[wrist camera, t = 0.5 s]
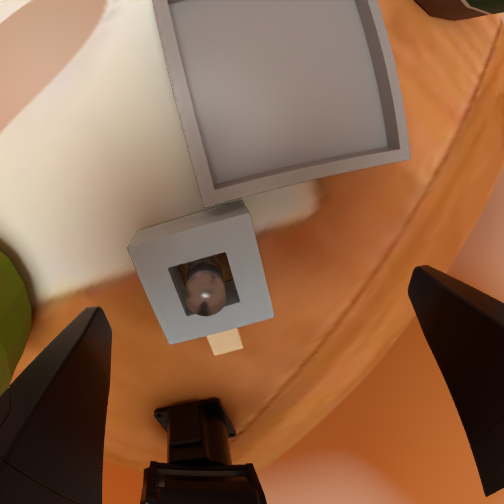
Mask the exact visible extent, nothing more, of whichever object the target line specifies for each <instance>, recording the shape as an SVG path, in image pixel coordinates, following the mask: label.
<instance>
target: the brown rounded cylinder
mask: <svg viewBox="0 0 504 504" xmlns="http://www.w3.org/2000/svg"><path fill="white" fill-rule="evenodd" d="M185 301H186V305H187V307H188V308H189V309H190V311H192V312H193V313H195V314H197V315H200V316H212V315H215V314H217V313H218V312H220V311H221V310H222V309H223V307H224V306H225V303H226V293H225V287H224V282H223V276H222V270H221V265H220V260H219V257H218V256H217V254H216V255H212V256H208V257H205V258H201V259H198V260H194V261H191V262H187V274H186V293H185Z"/></svg>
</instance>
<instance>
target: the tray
mask: <svg viewBox="0 0 504 504" xmlns="http://www.w3.org/2000/svg"><path fill="white" fill-rule="evenodd" d="M152 2H153V7H154V11H155V16H156V21H157V25H158V29H159V34H160V38H161V43H162V47H163V51H164V56H165V60H166V64H167V68H168V72H169V77H170V81H171V85H172V89H173V93H174V97H175V101H176V105H177V109H178V113H179V117H180V120H181V124H182V128H183V132H184V136H185V140H186V143H187V147H188V151H189V155H190V158H191V162H192V166H193V169H194V173H195V177H196V180H197V184H198V187H199V191H200V195H201V198H202V202H203V205H204V208H205V207H208V206H212V205H216V204H219V203H223V202H227V201H230V200H234V199H238V198H241V197H245V196H249V195H253V194H257V193H261V192H265V191H268V190H272V189H276V188H280V187H285V186H289V185H293V184H297V183H301V182H305V181H310V180H314V179H318V178H323V177H327V176H332V175H336V174H341V173H345V172H350V171H355V170H360V169H364V168H369V167H374V166H379V165H384V164H389V163H395V162H400V161H405V160H411V156H410V147H409V139H408V131H407V124H406V118H405V111H404V105H403V100H402V94H401V89H400V84H399V79H398V74H397V70H396V65H395V61H394V57H393V53H392V49H391V45H390V41H389V37H388V34H387V30H386V27H385V24H384V20H383V17H382V14H381V11H380V8H379V5H378V2H377V0H152Z"/></svg>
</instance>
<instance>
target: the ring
mask: <svg viewBox="0 0 504 504" xmlns="http://www.w3.org/2000/svg"><path fill="white" fill-rule="evenodd" d="M127 249H128V252H129V254H130V257H131V259H132V262H133V264H134V267H135V269H136V271H137V274H138V276H139V279H140V281H141V283H142V286H143V288H144V290H145V293H146V295H147V297H148V299H149V302H150V304H151V306H152V308H153V311H154V313H155V315H156V317H157V319H158V321H159V324H160V326H161V328H162V330H163V332H164V334H165V336H166V338H167V340H168V342H169V344H170V345H172V344H176V343H180V342H184V341H188V340H192V339H196V338H200V337H204V336H207V339H208V341H209V344H210V346H211V349H212V351H213V353H214V356H216V355H220V354H224V353H228V352H231V351H235V350H239V349H243V345H242V340H241V336H240V331H239V327H242V326H246V325H249V324H253V323H256V322H260V321H263V320H267V319H270V318H273V317H275V316H274V312H273V308H272V304H271V299H270V295H269V291H268V287H267V282H266V278H265V274H264V270H263V266H262V261H261V257H260V253H259V249H258V245H257V240H256V236H255V232H254V228H253V224H252V220H251V215H250V212H249V210H248V209H247V207H246V206H245V204H244V202H243V201H242V200H241V201H238V202H234V203H230V204H227V205H223V206H219V207H216V208H212V209H208V210H205V211H201V212H198V213H194V214H191V215H187V216H184V217H181V218H177V219H174V220H171V221H167V222H164V223H161V224H157V225H154V226H151V227H148V228H144V229H141V230H138V231H136V233H135V235H134V237H133V238H132V240H131V242H130V244H129V246H128V247H127ZM223 252H226V255H227V258H228V262H229V265H230V268H231V272H232V275H233V279H234V280H231V281H227V282H224V287H225V293H226V303H225V306H224V307H223V309H222V310H221V311H220V312H218V313H217V314H215V315H212V316H200V315H197V314H195V313H193V312H192V311H190V309H189V308H188V307H187V305H186V301H185V293H186V287H185V285H184V282H183V279H182V277H181V274H180V271H179V268H178V266H177V265H180V264H184V263H187V262H191V261H194V260H198V259H201V258H205V257H208V256H212V255H216V254H219V253H223Z"/></svg>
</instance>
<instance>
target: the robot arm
mask: <svg viewBox="0 0 504 504" xmlns="http://www.w3.org/2000/svg"><path fill="white" fill-rule="evenodd" d="M408 295H409V298H410V300H411V303H412V305H413V308H414V310H415V313H416V315H417V318H418V320H419V323H420V325H421V328H422V331H423V333H424V336H425V338H426V340H427V342H428V344H429V347H430V349H431V351H432V353H433V355H434V357H435V359H436V361H437V364H438V366H439V368H440V370H441V372H442V375H443V377H444V379H445V382H446V384H447V386H448V388H449V391H450V393H451V396H452V398H453V401H454V403H455V406H456V408H457V410H458V413H459V416H460V419H461V421H462V424H463V426H464V429H465V432H466V435H467V438H468V440H469V443H470V447H471V449H472V453H473V456H474V459H475V462H476V465H477V468H478V472H479V475H480V479H481V483H482V486H483V490H484V493H485V496H486V497H487V496H489V495H491V494H493V493H495V492H497V491H499V490H500V489H502V488H504V303H502V302H500V301H498V300H497V299H495V298H493V297H490V296H489V295H487V294H485V293H483V292H481V291H479V290H477V289H475V288H473V287H471V286H469V285H467V284H465V283H463V282H461V281H459V280H457V279H455V278H453V277H451V276H449V275H447V274H445V273H443V272H441V271H439V270H437V269H434V268H432V267H430V266H428V265H422V266H417V267H415V268H414V270H413V273H412V277H411V280H410V283H409V287H408ZM111 346H112V330H111V327H110V325H109V322H108V320H107V318H106V316H105V314H104V311H103V310H102V308H101V307H99V306H94V307H87V308H85V309H84V310H83V311H82V312H81V313H80V314H79V315H78V316H77V317H76V318H75V319H74V320H73V321H72V322H71V323H70V324H69V325H68V326H67V327H66V328H65V329H64V330H63V331H62V332H61V333H60V334H59V335H58V336H57V337H56V338H55V339H54V340H53V341H52V342H51V343H50V344H49V345H48V346H47V347H46V348H45V349H44V350H43V351H42V352H41V353H40V354H39V355H38V356H37V357H36V358H35V359H34V360H33V361H32V362H31V363H30V364H29V365H28V366H27V367H26V369H25V370H24V371H23V372H22V373H21V374H20V375H19V376H18V377H17V378H16V379H15V380H14V381H13V383H12V384H11V385H10V388H7V389H6V390H5V391H4V393H3V394H2V395H1V396H0V504H102V471H103V451H104V437H105V425H106V414H107V405H108V396H109V388H110V371H111ZM215 403H216V404H215ZM154 416H155V418H156V419H157V420H158V422H159V423H160V424H161V425H162V427H163V428H164V429H165V431H166V432H167V463H159V462H157V461H150V467H149V468H146V469H144V481H143V489H142V495H141V501H140V504H267V503H266V498H265V495H264V492H263V490H262V487H261V484H260V482H259V480H258V477H257V474H256V472H255V469H254V466H253V464H252V463H248V464H246V465H232V461H231V455H230V448H229V442H228V438H231V437H235V436H236V430H235V429H234V427H233V425H232V423H231V421H230V419H229V417H228V415H227V413H226V411H225V410H224V408H223V406H222V404H221V402H220V400H219V399H210V400H205V401H200V402H196V403H191V404H185V405H180V406H175V407H169V408H163V409H157V410H155V411H154Z"/></svg>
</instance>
